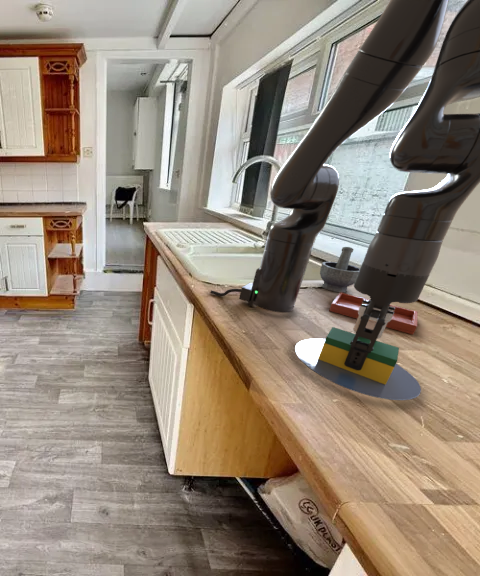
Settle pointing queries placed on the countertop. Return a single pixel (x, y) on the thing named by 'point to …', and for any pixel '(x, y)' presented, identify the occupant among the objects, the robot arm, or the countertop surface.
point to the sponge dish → (351, 304)
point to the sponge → (376, 362)
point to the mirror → (396, 387)
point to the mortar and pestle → (339, 272)
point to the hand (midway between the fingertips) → (354, 359)
